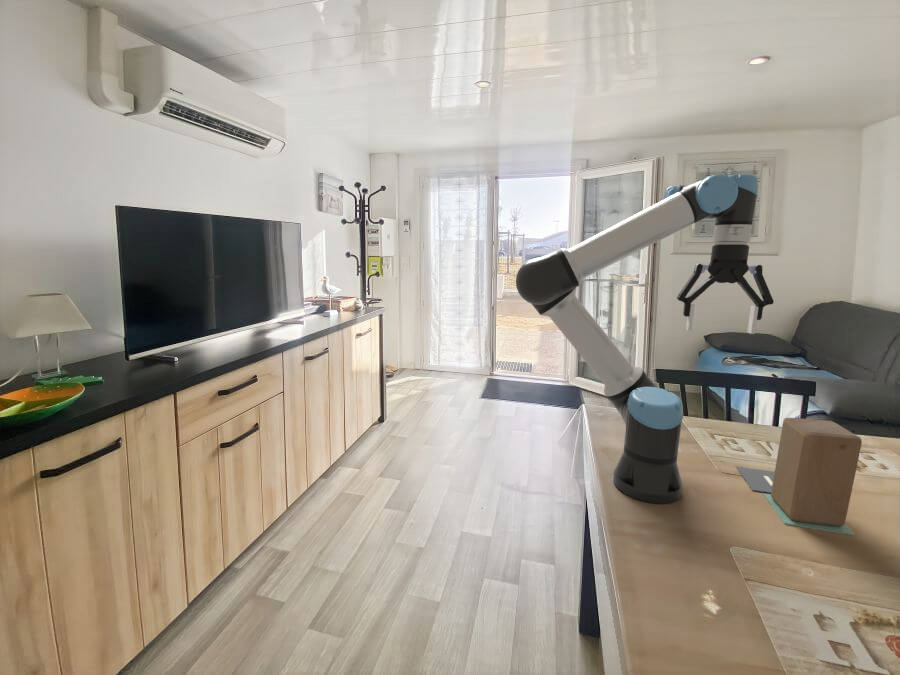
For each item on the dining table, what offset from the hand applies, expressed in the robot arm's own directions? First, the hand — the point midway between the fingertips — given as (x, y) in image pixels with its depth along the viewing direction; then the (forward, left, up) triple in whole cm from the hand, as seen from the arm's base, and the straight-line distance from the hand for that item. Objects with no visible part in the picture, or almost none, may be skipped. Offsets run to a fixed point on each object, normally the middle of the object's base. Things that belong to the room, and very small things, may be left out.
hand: (719, 331), depth 109 cm
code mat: (+18, -3, -37) cm, 41 cm away
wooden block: (+17, -16, -37) cm, 43 cm away
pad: (+17, -16, -37) cm, 43 cm away
